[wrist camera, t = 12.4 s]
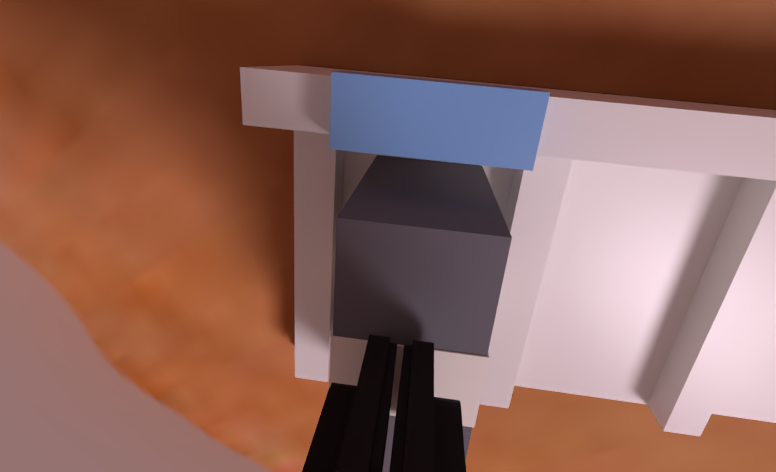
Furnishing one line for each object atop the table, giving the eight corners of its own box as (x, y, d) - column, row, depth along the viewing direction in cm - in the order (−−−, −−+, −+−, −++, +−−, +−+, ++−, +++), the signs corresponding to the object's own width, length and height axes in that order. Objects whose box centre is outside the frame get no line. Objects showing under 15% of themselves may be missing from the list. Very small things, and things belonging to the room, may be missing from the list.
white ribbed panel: (297, 60, 16) (217, 61, 10) (1083, 133, 14) (1532, 185, 8) (297, 348, 21) (244, 456, 15) (870, 428, 19) (1055, 585, 13)
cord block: (376, 154, 16) (334, 218, 10) (483, 165, 16) (514, 238, 9) (363, 345, 20) (326, 486, 13) (450, 357, 19) (457, 507, 13)
